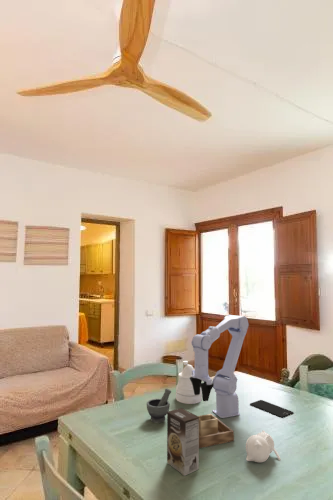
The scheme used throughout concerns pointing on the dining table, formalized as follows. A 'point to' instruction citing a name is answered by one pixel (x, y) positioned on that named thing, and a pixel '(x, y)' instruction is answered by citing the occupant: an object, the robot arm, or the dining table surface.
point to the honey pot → (186, 387)
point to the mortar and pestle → (159, 407)
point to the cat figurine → (260, 447)
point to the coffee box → (183, 441)
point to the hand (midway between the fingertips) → (201, 397)
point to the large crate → (217, 436)
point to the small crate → (207, 425)
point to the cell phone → (271, 408)
